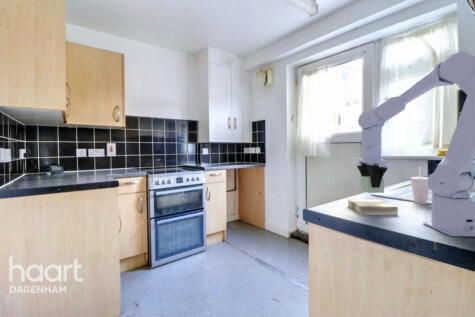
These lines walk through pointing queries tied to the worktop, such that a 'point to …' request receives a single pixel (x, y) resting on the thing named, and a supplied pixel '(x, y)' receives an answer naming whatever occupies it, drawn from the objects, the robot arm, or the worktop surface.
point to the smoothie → (420, 188)
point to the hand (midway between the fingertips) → (371, 186)
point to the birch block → (372, 207)
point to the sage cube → (367, 185)
